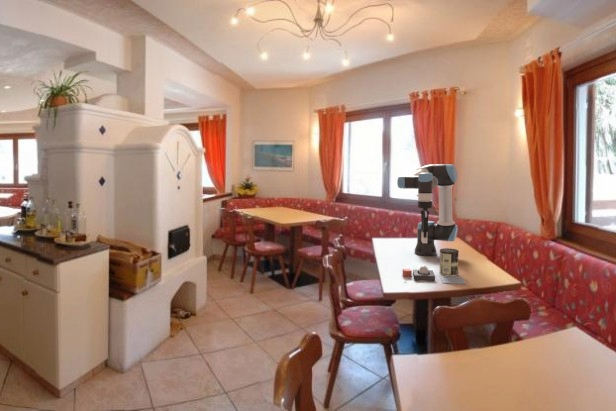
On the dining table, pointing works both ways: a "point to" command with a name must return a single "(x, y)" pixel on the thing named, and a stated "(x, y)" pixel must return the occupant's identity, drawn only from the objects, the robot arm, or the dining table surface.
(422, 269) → the dome
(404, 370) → the dining table surface
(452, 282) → the square pad
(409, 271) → the die
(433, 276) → the popper frame
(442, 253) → the coffee can
